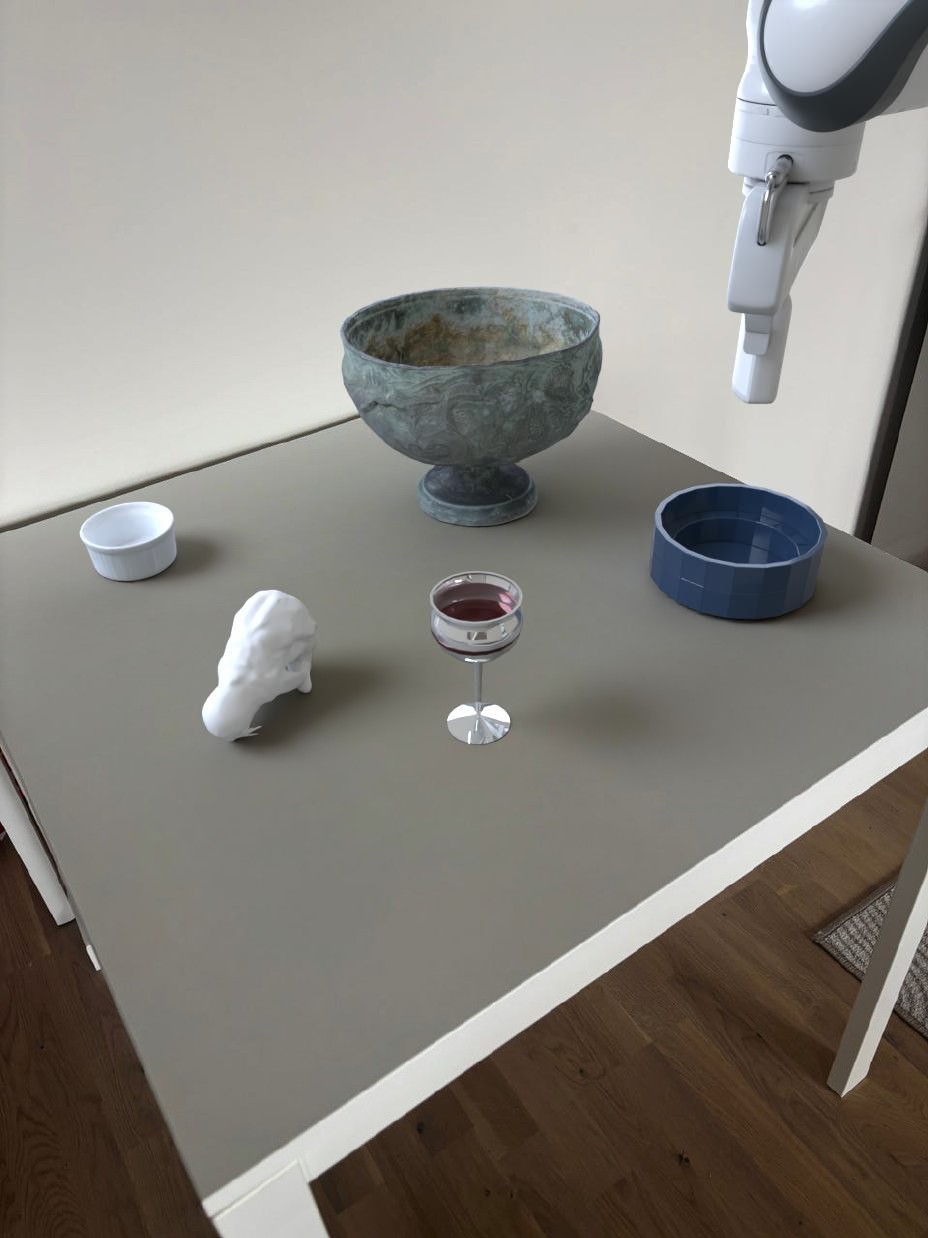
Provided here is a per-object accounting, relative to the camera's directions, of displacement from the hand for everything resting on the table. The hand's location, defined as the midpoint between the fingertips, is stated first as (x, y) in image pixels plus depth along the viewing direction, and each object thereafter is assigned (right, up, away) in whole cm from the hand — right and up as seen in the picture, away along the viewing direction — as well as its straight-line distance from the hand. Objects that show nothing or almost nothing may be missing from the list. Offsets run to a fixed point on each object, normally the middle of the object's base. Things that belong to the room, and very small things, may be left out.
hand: (763, 336), depth 76 cm
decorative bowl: (-22, -9, +30) cm, 39 cm away
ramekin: (-56, -17, +21) cm, 62 cm away
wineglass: (-22, -31, 0) cm, 38 cm away
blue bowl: (+2, -18, +16) cm, 24 cm away
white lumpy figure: (-40, -29, +2) cm, 50 cm away
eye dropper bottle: (0, -4, +3) cm, 5 cm away
